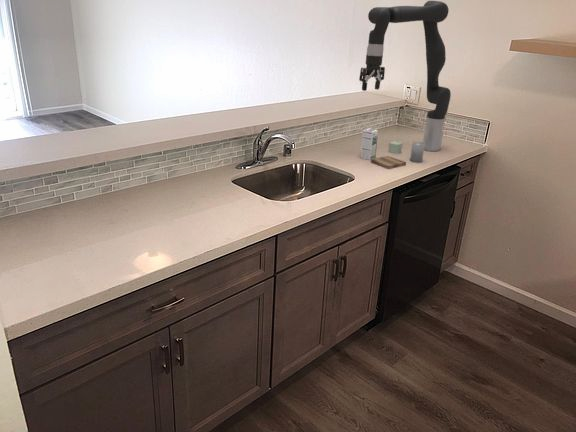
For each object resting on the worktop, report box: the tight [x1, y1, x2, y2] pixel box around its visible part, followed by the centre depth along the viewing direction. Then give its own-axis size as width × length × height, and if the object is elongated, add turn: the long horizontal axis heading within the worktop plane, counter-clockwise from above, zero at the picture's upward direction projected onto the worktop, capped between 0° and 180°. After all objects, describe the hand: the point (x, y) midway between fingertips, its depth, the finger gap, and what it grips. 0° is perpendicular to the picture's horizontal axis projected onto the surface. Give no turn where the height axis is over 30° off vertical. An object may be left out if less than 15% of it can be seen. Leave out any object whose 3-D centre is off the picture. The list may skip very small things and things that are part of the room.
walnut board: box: [370, 155, 407, 170], centre depth 234 cm, size 12×12×2 cm
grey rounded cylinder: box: [409, 141, 425, 164], centre depth 238 cm, size 6×6×9 cm
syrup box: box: [360, 127, 379, 161], centre depth 239 cm, size 6×6×14 cm
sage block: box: [388, 140, 403, 155], centre depth 252 cm, size 5×5×5 cm
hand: (370, 89), depth 228 cm, fingers open, 8 cm apart
